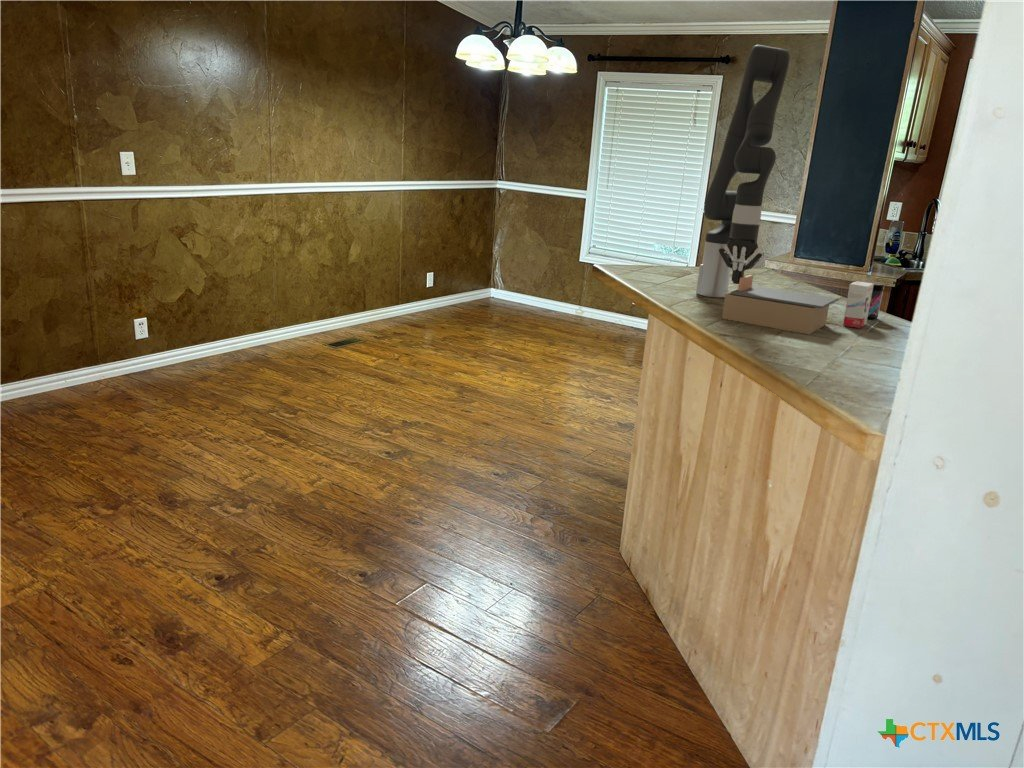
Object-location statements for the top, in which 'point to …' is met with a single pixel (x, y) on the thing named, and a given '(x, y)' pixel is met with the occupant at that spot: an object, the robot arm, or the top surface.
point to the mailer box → (774, 314)
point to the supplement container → (875, 299)
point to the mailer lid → (781, 294)
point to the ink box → (858, 304)
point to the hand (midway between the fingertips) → (736, 283)
